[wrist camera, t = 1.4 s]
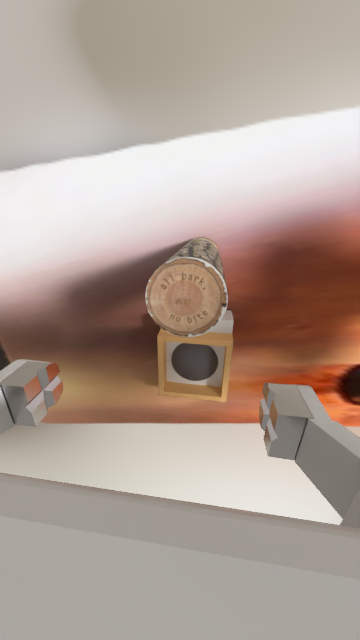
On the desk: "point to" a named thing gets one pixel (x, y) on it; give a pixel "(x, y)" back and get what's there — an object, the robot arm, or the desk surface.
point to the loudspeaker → (196, 362)
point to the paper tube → (189, 290)
